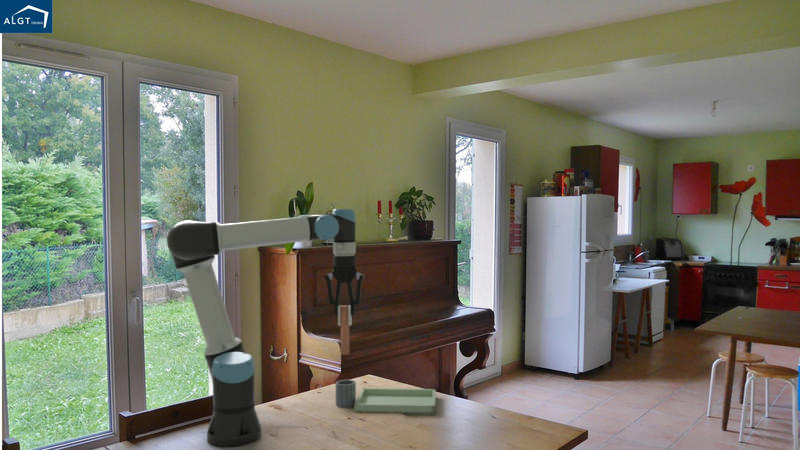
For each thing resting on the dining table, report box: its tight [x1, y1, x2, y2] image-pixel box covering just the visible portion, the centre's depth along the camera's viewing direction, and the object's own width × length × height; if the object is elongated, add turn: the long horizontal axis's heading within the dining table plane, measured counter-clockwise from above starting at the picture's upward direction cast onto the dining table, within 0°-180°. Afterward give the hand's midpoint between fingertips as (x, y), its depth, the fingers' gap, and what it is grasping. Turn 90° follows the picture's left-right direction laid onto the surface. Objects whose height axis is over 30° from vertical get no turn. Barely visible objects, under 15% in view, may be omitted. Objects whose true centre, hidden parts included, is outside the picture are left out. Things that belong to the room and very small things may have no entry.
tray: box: [353, 387, 437, 416], centre depth 193 cm, size 26×18×3 cm
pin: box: [340, 305, 350, 356], centre depth 192 cm, size 6×3×16 cm, turn 86°
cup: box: [335, 379, 357, 409], centre depth 193 cm, size 7×7×8 cm
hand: (344, 324), depth 192 cm, fingers closed on pin, 3 cm apart
